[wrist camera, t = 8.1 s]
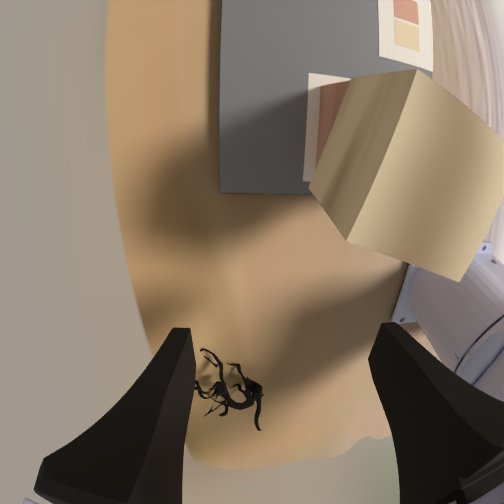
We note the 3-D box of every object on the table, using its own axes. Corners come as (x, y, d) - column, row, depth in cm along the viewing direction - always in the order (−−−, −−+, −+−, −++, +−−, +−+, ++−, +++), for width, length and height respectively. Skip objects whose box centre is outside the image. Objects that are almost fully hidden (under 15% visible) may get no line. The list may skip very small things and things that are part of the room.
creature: (193, 387, 29) (268, 401, 27) (175, 427, 24) (258, 445, 23) (182, 335, 25) (272, 350, 24) (158, 381, 20) (261, 403, 19)
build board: (422, -13, 11) (428, -16, 10) (412, 198, 18) (418, 202, 18) (226, -49, 10) (225, -55, 10) (220, 189, 18) (219, 193, 17)
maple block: (441, 131, 11) (518, 156, 6) (400, 224, 13) (459, 282, 8) (351, 78, 10) (417, 69, 5) (308, 187, 12) (346, 241, 8)
